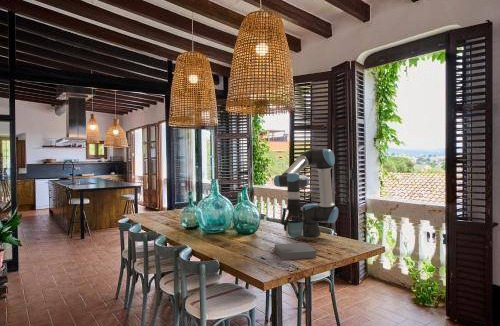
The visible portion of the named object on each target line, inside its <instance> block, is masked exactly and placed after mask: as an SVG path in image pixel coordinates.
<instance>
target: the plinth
mask: <svg viewBox="0 0 500 326" xmlns="http://www.w3.org/2000/svg"><path fill="white" fill-rule="evenodd" d="M274 252H275V253H276V254H277V255H278V256H279V257H280V258H281V259H282V261H285V260H289V261H290V260H300V259H316V258H317V250H315V248H313V247H311V246H310V245H309V244H307V243H306V242H293V243H275V244H274Z"/></svg>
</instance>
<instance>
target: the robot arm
mask: <svg viewBox="0 0 500 326" xmlns="http://www.w3.org/2000/svg"><path fill="white" fill-rule="evenodd" d="M335 159H336V158H335V153H334V151H332V150H331V149H326V148H323V149H322V148H320V149H309V150H306V151H304V152H303V153H301V154H300V155H298V156H297V157H296V159H295V161H294V162H293V163H292V164H291V165H290V166H289V167H288V168H287V169H286V170H285V171H284V172H283V173H281V174H277V175H275V176H274V177H273V184H274V186H275V187H278V188H279V187H280V188H287V193H286V194H287V206H286V207H282V214H281V221H280V224H281V225H283V230H284V231H285V237H287V238H288V237H289V234H288V226H287V223H288V221H290V218H291V216H292V215H297V217H298V220H299V221H301V222H303V230H302V233H301V235H300V236H302V237H308V238H309V237H320V236H321V235H322V234H321V229H320V226H319V222H320V223H328V224H333V223H336V221H338V220H337V219H338V217H339V208H338V207H337V206H336V204H335V202H333V192H332V191H333V189H332V187H333V186H332V177H331V169H332V168H333V166H334V165H335V162H336V160H335ZM309 166H315V169H316V170H317V173H318V185H319V187H318V188H319V199H320V203H319V204H318V203H309V204H304V205H302V206H301V200H300V199H301V193H300V192H301V191H300V189H301V188H306V187H307V186H308V185H309V184H310V179H309V177H308V176H307V175H304V174H303V175H302V174H300V173H301V171H303V169H305V168H307V167H309ZM287 211H288V212H287ZM300 211H301V213H302V216H301V213H300ZM286 213H287V215H286Z"/></svg>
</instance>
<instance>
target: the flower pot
mask: <svg viewBox="0 0 500 326" xmlns="http://www.w3.org/2000/svg"><path fill="white" fill-rule="evenodd" d="M287 226H288V237H291V238H297V237H298V238H299V237H300V236H301V233H302V230H303V222H301V221H300V220H299V219H294V220H292V219H291V220H289V221H288V223H287Z"/></svg>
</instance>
